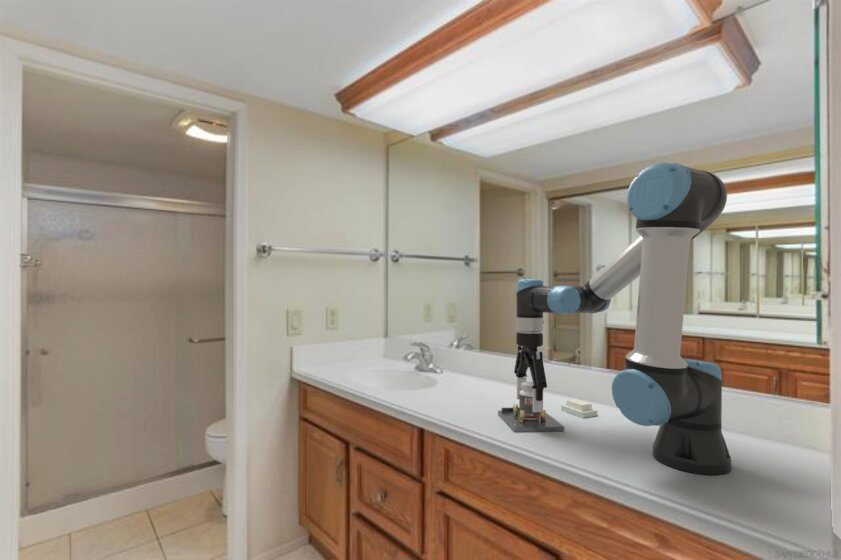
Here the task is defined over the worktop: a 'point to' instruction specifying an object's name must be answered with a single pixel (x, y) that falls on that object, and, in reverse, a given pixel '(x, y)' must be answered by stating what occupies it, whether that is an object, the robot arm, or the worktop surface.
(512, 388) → the worktop surface
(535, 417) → the pill bottle
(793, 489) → the worktop surface
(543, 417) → the plate
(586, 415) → the soap dish
